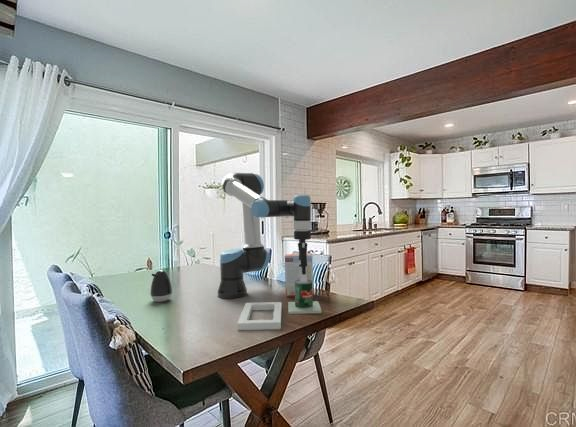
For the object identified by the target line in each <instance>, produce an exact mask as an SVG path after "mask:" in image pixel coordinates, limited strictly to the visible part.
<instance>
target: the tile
mask: <svg viewBox="0 0 576 427" xmlns="http://www.w3.org/2000/svg"><path fill="white" fill-rule="evenodd" d="M287 307H288V308H287V309H288V310H287V311H288V314H289V315H298V314H299V315H300V314H303V315H304V314H305V315H306V314H322V313H323V312H322V308H321V305H320V303H319V301H318V300H315V301H313V307H311V308H307V309H301V308H297V307H295V301H288V302H287Z"/></svg>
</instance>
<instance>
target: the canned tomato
mask: <svg viewBox="0 0 576 427" xmlns="http://www.w3.org/2000/svg"><path fill="white" fill-rule="evenodd" d="M312 295H313V296H312ZM313 297H314V293H313V294H312V280H307V282H301V280H296V281H295V296H294V302H295V307H297V308H301V309H307V308H311V307H313Z"/></svg>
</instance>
